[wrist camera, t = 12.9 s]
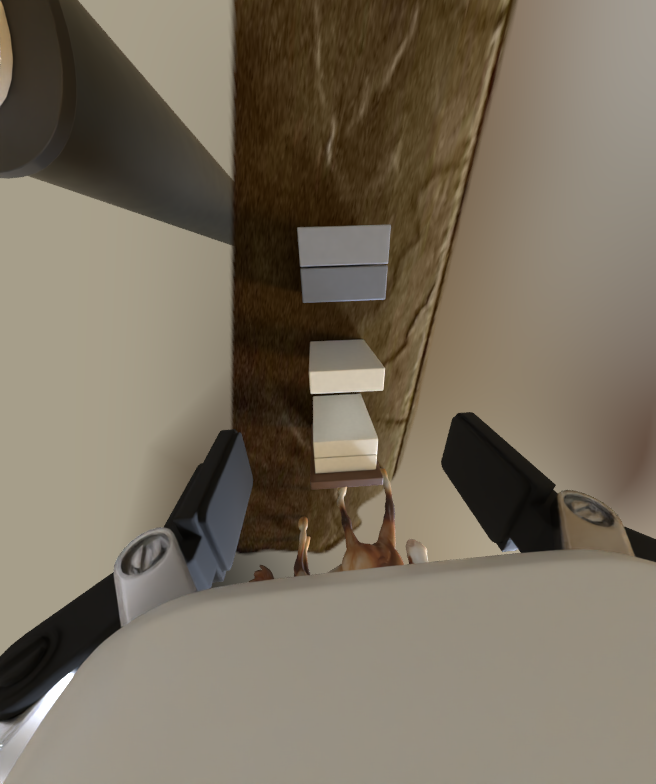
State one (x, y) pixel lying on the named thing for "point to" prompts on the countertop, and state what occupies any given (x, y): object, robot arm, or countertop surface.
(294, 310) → the countertop surface
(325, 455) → the white books
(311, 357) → the white book
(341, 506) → the horse figurine
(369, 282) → the grey books
